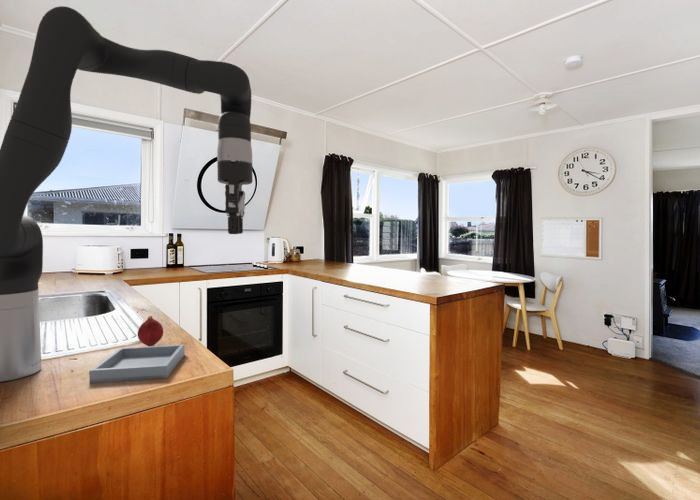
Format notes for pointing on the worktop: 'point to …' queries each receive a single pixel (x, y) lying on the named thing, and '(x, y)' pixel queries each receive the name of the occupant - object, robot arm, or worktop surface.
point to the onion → (150, 332)
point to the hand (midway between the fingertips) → (235, 233)
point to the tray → (138, 364)
